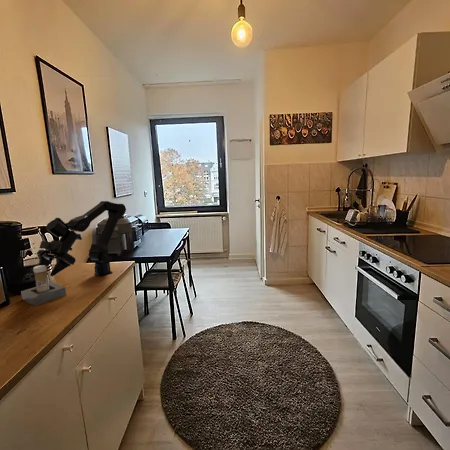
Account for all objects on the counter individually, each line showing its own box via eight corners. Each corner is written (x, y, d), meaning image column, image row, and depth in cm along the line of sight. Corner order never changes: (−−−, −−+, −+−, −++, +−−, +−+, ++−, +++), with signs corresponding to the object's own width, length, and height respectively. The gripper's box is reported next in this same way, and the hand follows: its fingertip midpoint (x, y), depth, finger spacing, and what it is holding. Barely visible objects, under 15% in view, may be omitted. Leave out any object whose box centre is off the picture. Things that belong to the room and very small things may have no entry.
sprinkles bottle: (36, 300, 116) (31, 268, 114) (40, 296, 121) (35, 265, 118) (49, 298, 118) (44, 267, 115) (52, 294, 122) (47, 264, 119)
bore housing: (53, 289, 127) (51, 282, 127) (66, 295, 120) (65, 287, 120) (22, 299, 118) (20, 291, 117) (34, 306, 111) (33, 297, 110)
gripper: (38, 231, 124) (14, 262, 117) (65, 234, 116) (42, 268, 108) (57, 245, 133) (36, 275, 125) (84, 248, 124) (64, 280, 117)
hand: (44, 274), depth 118 cm, fingers open, 9 cm apart
